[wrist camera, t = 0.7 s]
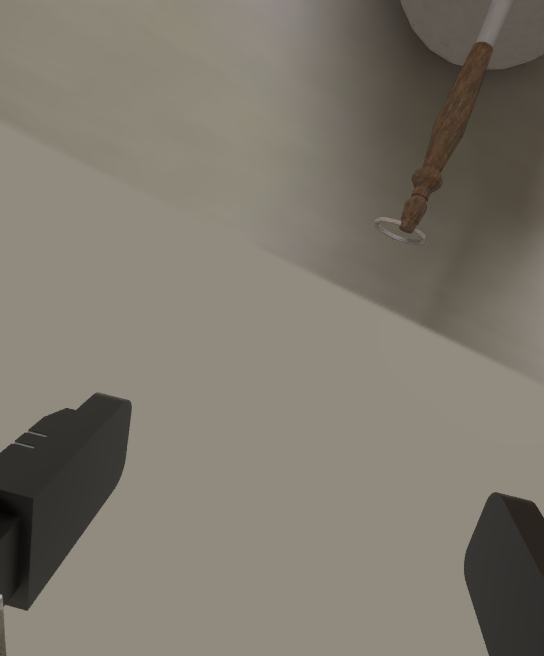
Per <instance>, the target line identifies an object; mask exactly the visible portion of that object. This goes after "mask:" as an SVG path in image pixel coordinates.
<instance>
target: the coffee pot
mask: <svg viewBox="0 0 544 656" xmlns="http://www.w3.org/2000/svg"><path fill="white" fill-rule="evenodd" d="M401 5H402V7H403V10H404V12H405V14H406V16H407V18H408V20H409V23H410V25H411V27H412V29H413V31H414V32H415V33H416V34H417V35H418V37H419V38H420V39H421V40H422V41H423V42H424V44H425V45H426V46H427V47H428V48H429V49H430V50H431V51H433V52H434V53H436V54H437V55H439V56H441V57H442V58H444V59H445V60H447V61H449V62H450V63H452V64H456V65H460V66H463V67H462V69H461V71H460V73H459V75H458V77H457V79H456V81H455V83H454V85H453V87H452V89H451V91H450V93H449V95H448V97H447V99H446V101H445V103H444V105H443V107H442V109H441V111H440V113H439V115H438V117H437V119H436V121H435V124H434V126H433V130H432V134H431V139H430V142H429V146H428V150H427V153H426V157H425V161H424V164H423V168H421V169H419V170H417V171H416V172H415V173H414V174H413V176H412V181H413V184H414V187H415V189H414V191H413V193H412V197H411V198H410V199H408V200H407V202H406V203H405V206H404V210H403V214H402V217H401V220H402V221H400V220H397V219H394V218H388V217H380V218H377V219H376V220H375V227H376V228H377V229H378V230H380V231H381V232H382V233H384V234H385V235H387V236H389V237H391V238H392V239H395V240H398V241H401V242H404V243H408V244H413V245H421V244H424V242H425V239H426V235H425V234H423V233H422V232H421V231H420V230H419V229H417V228H415V227H416V225H418V224H419V222H420V220H421V219H422V217H423V215H424V214H425V212H426V208H427V204H426V202H427V200H428V198H429V196H430V193H432V192H434V191H436V190H437V189H439V188H440V187H441V185H442V178H441V176H440V172H441V171H442V169H443V167H444V166H445V164H446V162H447V161H448V159H449V157H450V155H451V154H452V152H453V150H454V149H455V147H456V145H457V144H458V142H459V141H460V139H461V138H462V136H463V134H464V131H465V128H466V125H467V122H468V120H469V117H470V114H471V111H472V109H473V106H474V103H475V100H476V97H477V95H478V92H479V89H480V86H481V83H482V81H483V78H484V75H485V72H486V70H489V69H506V68H510V67H513V66H516V65H520V64H523V63H527V62H530V61H532V60H534V59H536V58H538V57H539V56H541V55H543V54H544V0H401ZM382 221H383V222H389V223H393V224H396V225H400V230H402V231H403V232H406V233H412V232H414V233H416V234H417V235H418V236H419V237H421V238H422V240H418V241H416V240H411V239H406V238H403V237H400V236H397V235H394V234H393V233H391V232H389V231H387V230H386V229H384V228H383V227H382V226H381V225H380V224H379V223H378V222H382Z"/></svg>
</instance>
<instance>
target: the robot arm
mask: <svg viewBox="0 0 544 656" xmlns="http://www.w3.org/2000/svg"><path fill="white" fill-rule="evenodd" d="M131 408H132V406H131V402H130V401H129V400H126V399H122V398H118V397H114V396H110V395H106V394H102V393H95V394H94V395H92V396H91V397H90V398H89V399H88V400H87V401H86V402H85V403H83V404H82V405H81V406H80V407H79V408H78V409H77V410H73V409H68V408H66V409H63V410H60V411H58V412H55V413H53V414H50V415H48V416H45V417H43V418H42V419H41V420H40V421H39V422H37V423H36V424H35V425H34V426H32V427H31V428H30V429H29V430H28V432H27V433H24V434H23V435H21V436H20V437H19V438H18V439H17V440H15V443H14V444H10V445H9V446H8V447H7V448H6V449H4V450H3V451H2V452H1V453H0V656H6V643H5V629H4V613H3V607H4V606H5V605H9V606H12V607H16V608H19V609H23V610H28V609H29V608H30V606H31V605H32V604H33V602H34V601H35V599H36V598H37V597H38V595H39V594H40V592H41V591H42V589H43V588H44V587H45V585H46V584H47V583H48V581H49V580H50V578H51V577H52V576H53V574H54V573H55V571H56V570H57V569H58V567H59V566H60V564H61V563H62V562H63V560H64V559H65V557H66V556H67V555H68V553H69V552H70V550H71V549H72V548H73V546H74V545H75V544H76V542H77V541H78V539H79V538H80V536H81V535H82V534H83V532H84V531H85V530H86V528H87V527H88V525H89V524H90V522H91V521H92V520H93V518H94V517H95V516H96V514H97V513H98V511H99V510H100V508H101V507H102V506H103V504H104V503H105V502H106V500H107V499H108V497H109V496H110V495H111V493H112V491H113V490H114V489H115V487H116V486H117V484H118V482H119V480H120V477H121V475H122V471H123V468H124V464H125V459H126V451H127V443H128V435H129V427H130V418H131V410H132V409H131ZM464 575H465V580H466V584H467V587H468V590H469V593H470V597H471V600H472V603H473V606H474V609H475V612H476V615H477V619H478V622H479V625H480V628H481V632H482V634H483V638H484V641H485V644H486V647H487V650H488V654H489V656H544V518H543V516H542V514H541V513H540V511H539V509H538V508H537V506H536V505H535V503H533V502H532V501H529V500H525V499H521V498H517V497H513V496H509V495H505V494H501V493H497V492H495V493H492V494H491V495H490V496H489V498H488V500H487V502H486V504H485V506H484V509H483V511H482V514H481V516H480V518H479V521H478V523H477V526H476V528H475V531H474V533H473V535H472V538H471V540H470V543H469V545H468V548H467V550H466V554H465V561H464Z"/></svg>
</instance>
